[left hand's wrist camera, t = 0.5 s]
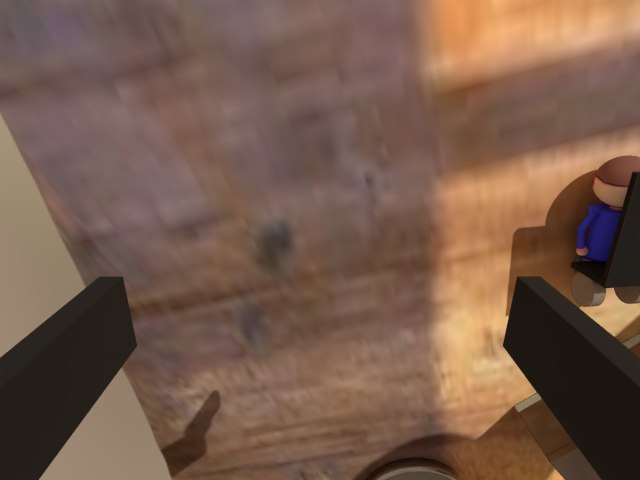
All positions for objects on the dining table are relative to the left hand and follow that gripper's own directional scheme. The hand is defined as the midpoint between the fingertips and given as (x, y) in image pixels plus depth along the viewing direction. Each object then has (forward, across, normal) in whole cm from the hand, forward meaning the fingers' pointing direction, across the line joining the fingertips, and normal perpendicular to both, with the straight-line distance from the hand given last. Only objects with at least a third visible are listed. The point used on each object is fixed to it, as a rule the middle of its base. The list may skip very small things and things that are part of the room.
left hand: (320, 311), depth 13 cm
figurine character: (+28, -30, +6) cm, 41 cm away
